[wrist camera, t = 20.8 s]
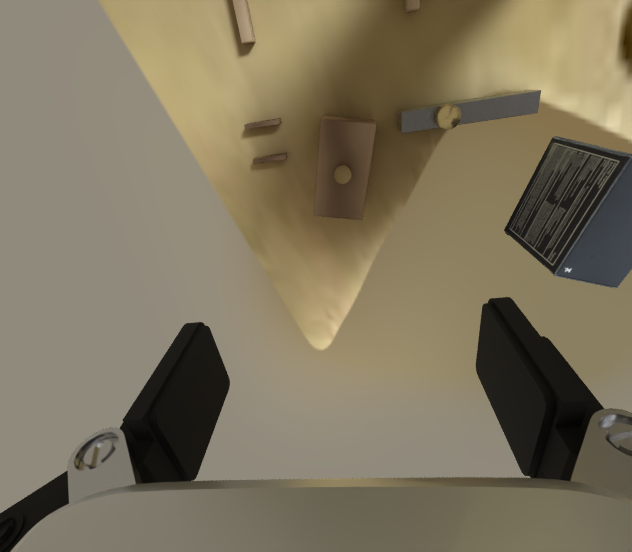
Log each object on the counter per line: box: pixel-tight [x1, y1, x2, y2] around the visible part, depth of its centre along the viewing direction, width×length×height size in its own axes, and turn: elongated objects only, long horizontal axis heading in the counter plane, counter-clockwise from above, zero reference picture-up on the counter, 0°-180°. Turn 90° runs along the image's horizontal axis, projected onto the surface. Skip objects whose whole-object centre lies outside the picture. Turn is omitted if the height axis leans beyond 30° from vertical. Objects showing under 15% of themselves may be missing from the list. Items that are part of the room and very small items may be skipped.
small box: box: [504, 137, 632, 288], centre depth 32 cm, size 11×6×10 cm, turn 169°
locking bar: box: [398, 90, 541, 133], centre depth 31 cm, size 12×2×3 cm, turn 99°
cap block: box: [314, 115, 376, 220], centre depth 34 cm, size 5×9×5 cm, turn 176°
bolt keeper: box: [245, 118, 288, 164], centre depth 35 cm, size 4×4×1 cm
